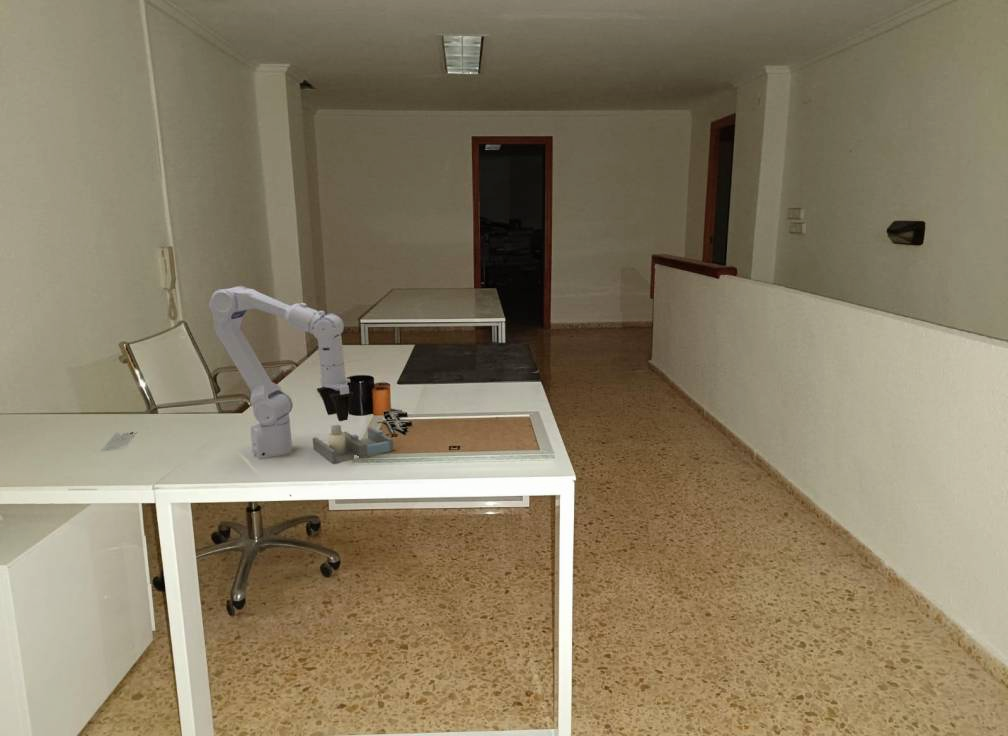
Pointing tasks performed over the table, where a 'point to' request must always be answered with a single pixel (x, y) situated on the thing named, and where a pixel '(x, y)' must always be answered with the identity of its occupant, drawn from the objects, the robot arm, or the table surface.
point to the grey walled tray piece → (356, 446)
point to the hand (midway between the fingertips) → (337, 417)
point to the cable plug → (337, 440)
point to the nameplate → (396, 421)
